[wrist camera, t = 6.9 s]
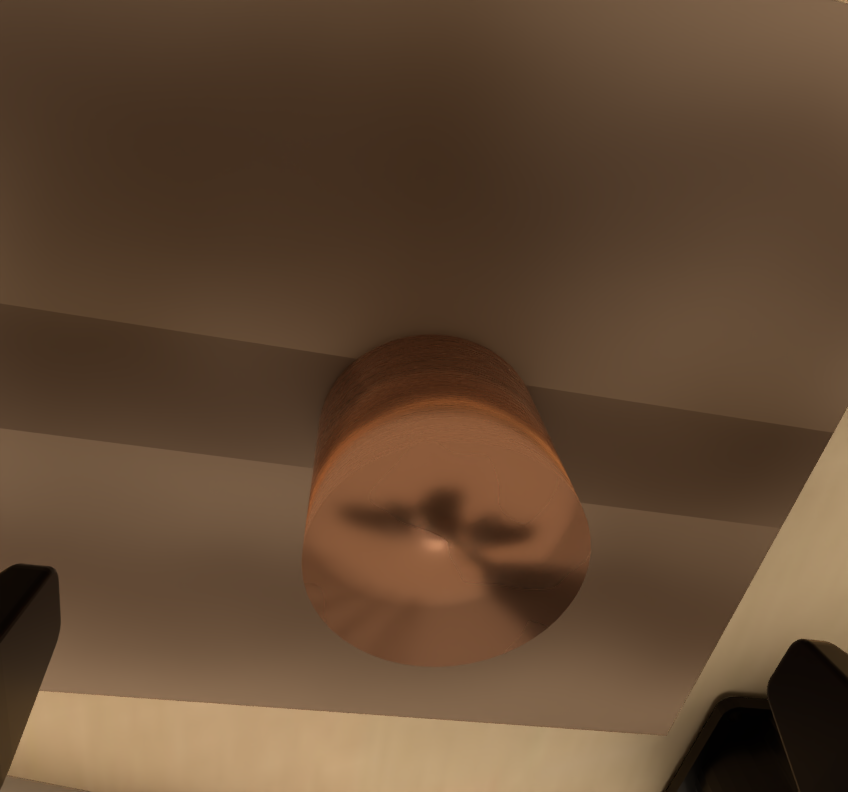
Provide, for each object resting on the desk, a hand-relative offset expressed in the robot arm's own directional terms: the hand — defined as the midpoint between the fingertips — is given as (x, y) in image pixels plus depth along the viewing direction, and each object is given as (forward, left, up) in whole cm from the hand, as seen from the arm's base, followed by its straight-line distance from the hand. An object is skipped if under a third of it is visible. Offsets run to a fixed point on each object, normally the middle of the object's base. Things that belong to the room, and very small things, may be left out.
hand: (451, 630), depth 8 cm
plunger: (0, 0, -9) cm, 9 cm away
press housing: (0, 0, -9) cm, 9 cm away
